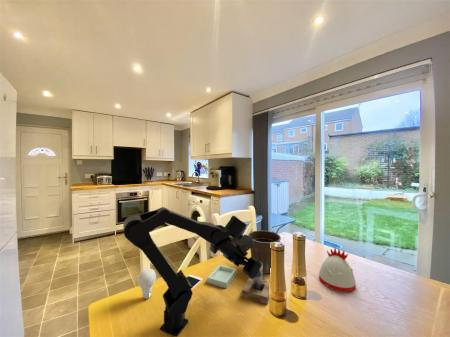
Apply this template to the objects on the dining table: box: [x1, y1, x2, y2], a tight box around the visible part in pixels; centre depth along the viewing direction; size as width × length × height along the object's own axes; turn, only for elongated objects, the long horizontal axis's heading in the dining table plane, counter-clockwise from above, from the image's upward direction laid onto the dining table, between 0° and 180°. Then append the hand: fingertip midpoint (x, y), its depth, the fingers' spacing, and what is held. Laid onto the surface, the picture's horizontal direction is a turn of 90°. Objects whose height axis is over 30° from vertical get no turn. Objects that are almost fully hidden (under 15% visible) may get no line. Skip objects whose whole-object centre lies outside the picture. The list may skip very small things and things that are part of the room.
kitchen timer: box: [318, 247, 356, 293], centre depth 86 cm, size 14×14×15 cm
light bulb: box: [137, 268, 157, 299], centre depth 74 cm, size 7×7×11 cm
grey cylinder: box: [253, 261, 263, 291], centre depth 78 cm, size 4×4×12 cm
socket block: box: [241, 277, 270, 305], centre depth 78 cm, size 10×10×2 cm
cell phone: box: [186, 274, 204, 291], centre depth 82 cm, size 8×16×1 cm, turn 152°
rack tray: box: [206, 264, 238, 289], centre depth 88 cm, size 12×9×2 cm
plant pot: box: [247, 230, 282, 275], centre depth 97 cm, size 16×16×16 cm
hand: (252, 270), depth 76 cm, fingers open, 9 cm apart
